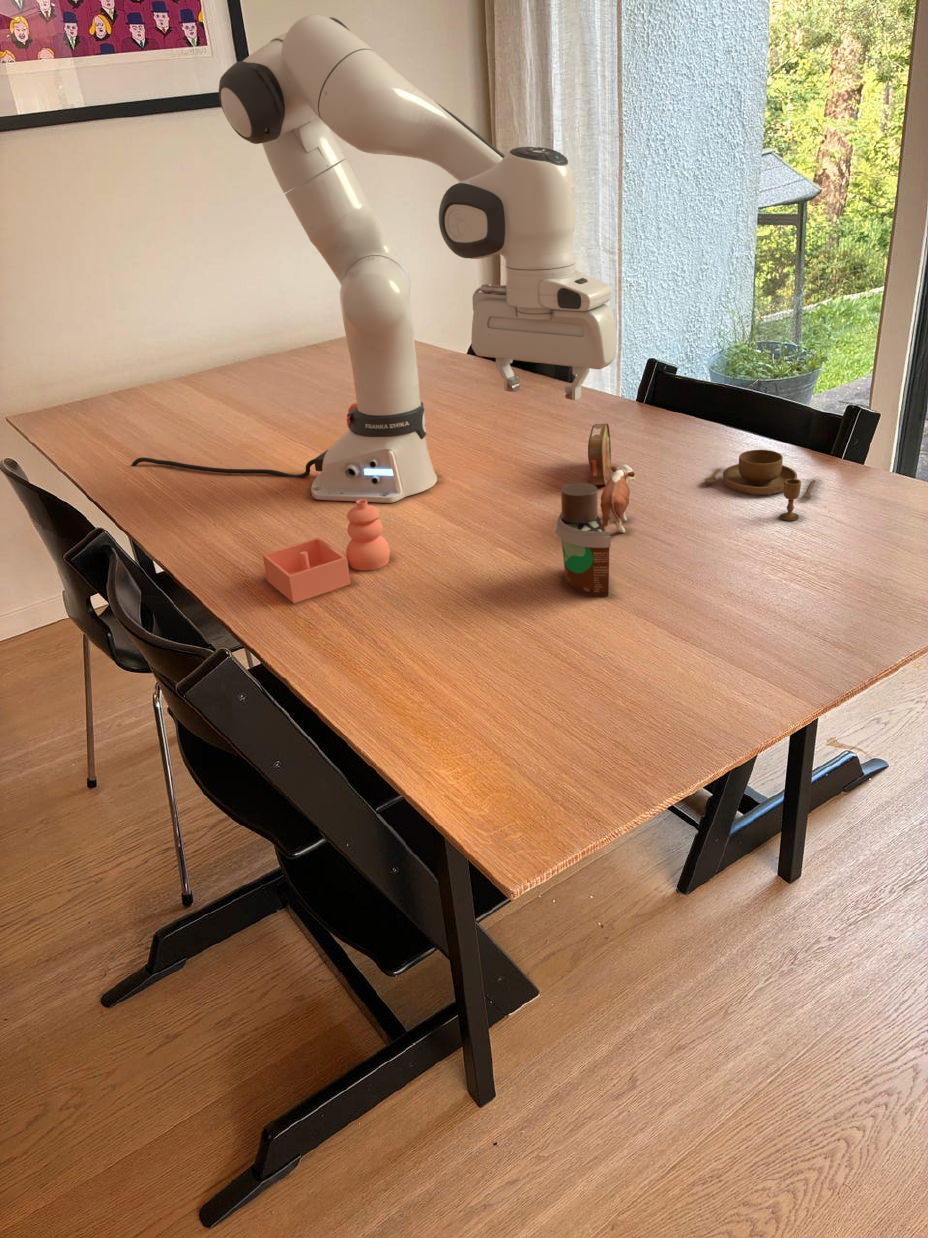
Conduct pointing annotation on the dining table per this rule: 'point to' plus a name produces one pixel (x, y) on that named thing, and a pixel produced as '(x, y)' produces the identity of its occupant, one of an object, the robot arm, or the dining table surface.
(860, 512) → the dining table surface
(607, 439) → the tin
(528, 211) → the robot arm
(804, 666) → the dining table surface
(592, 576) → the food container
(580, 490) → the brown cylinder
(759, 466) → the place setting
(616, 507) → the bull figurine
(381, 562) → the pottery
